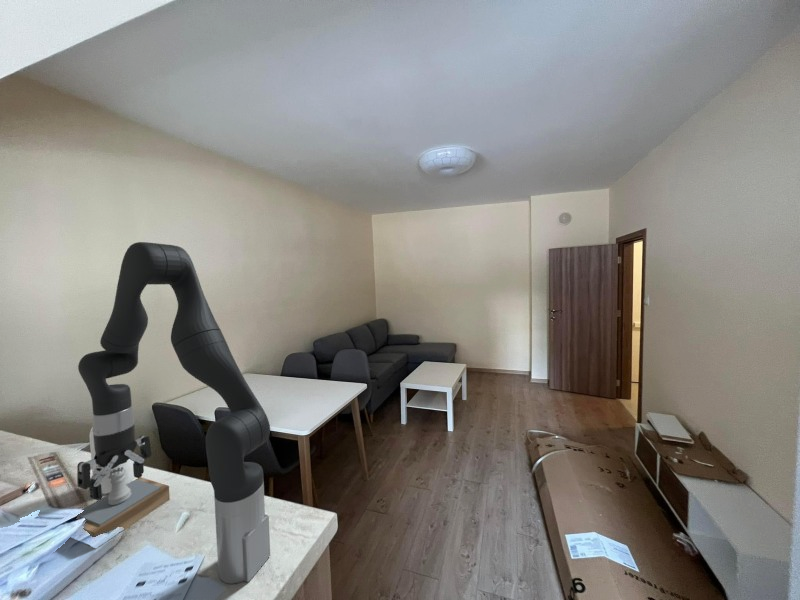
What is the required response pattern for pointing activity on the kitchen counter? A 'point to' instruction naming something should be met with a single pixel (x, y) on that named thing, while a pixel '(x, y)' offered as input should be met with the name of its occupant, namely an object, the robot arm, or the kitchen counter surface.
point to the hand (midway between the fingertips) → (119, 487)
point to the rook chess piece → (118, 487)
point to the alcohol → (105, 482)
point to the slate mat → (105, 512)
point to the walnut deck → (132, 511)
